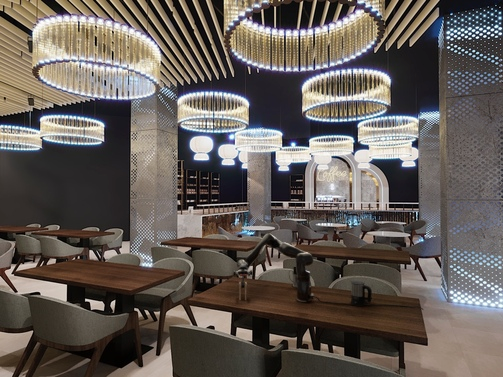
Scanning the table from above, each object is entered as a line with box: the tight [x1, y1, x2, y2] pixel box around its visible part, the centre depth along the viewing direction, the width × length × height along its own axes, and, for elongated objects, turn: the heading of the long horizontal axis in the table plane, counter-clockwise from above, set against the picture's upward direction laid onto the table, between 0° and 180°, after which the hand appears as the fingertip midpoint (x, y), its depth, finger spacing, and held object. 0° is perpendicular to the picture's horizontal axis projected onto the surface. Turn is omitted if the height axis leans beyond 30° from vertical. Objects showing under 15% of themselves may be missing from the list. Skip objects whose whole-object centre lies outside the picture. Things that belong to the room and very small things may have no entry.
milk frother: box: [350, 280, 373, 307], centre depth 228 cm, size 14×16×15 cm
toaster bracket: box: [238, 281, 248, 301], centre depth 231 cm, size 10×8×13 cm
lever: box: [239, 275, 247, 289], centre depth 235 cm, size 12×5×2 cm, turn 1°
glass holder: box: [288, 266, 297, 288], centre depth 269 cm, size 9×14×15 cm, turn 124°
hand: (243, 275), depth 241 cm, fingers open, 8 cm apart
